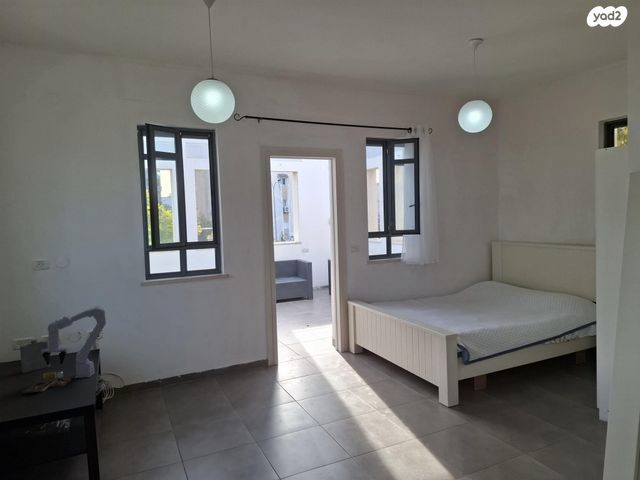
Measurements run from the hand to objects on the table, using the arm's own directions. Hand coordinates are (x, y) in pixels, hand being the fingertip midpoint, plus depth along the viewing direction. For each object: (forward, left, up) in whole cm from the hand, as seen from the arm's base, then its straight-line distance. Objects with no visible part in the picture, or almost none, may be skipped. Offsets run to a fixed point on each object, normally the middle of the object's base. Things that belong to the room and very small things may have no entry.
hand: (55, 364), depth 260 cm
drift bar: (+3, +11, -8) cm, 15 cm away
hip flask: (+27, -26, -11) cm, 38 cm away
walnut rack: (-6, +7, -10) cm, 14 cm away
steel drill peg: (-6, +7, -10) cm, 14 cm away
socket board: (+3, +11, -10) cm, 16 cm away
